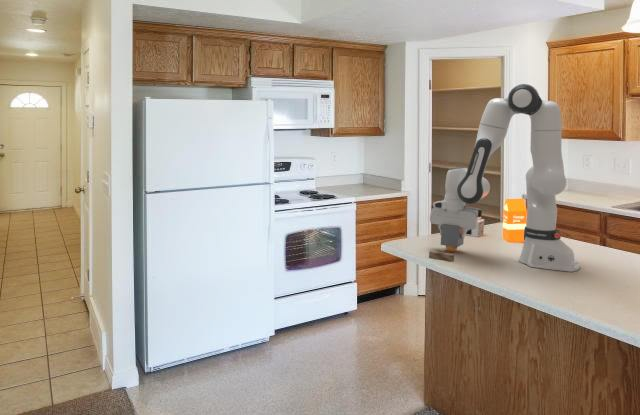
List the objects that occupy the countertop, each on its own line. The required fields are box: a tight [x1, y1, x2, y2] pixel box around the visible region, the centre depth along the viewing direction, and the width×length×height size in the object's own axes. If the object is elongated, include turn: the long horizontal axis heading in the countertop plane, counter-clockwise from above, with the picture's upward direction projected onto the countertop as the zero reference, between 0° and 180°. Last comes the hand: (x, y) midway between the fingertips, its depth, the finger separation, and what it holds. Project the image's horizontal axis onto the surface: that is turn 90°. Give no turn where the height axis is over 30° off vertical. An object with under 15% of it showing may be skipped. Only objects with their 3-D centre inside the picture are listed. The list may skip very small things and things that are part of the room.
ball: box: [445, 246, 458, 253], centre depth 228 cm, size 5×5×5 cm
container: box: [465, 208, 485, 238], centre depth 261 cm, size 8×8×13 cm
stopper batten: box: [428, 250, 455, 262], centre depth 216 cm, size 10×2×2 cm, turn 56°
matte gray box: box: [440, 224, 465, 248], centre depth 227 cm, size 7×7×9 cm
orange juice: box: [502, 198, 527, 243], centre depth 250 cm, size 8×9×20 cm
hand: (452, 236), depth 227 cm, fingers closed on matte gray box, 7 cm apart
